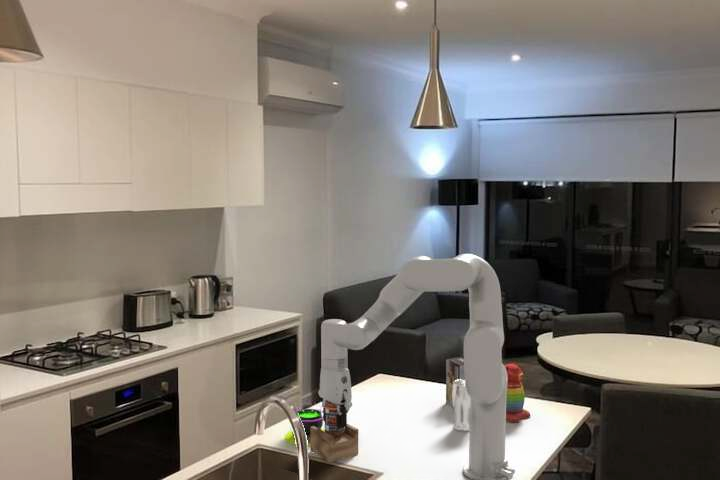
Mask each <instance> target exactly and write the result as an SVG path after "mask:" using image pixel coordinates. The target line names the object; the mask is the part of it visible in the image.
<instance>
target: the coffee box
mask: <svg viewBox="0 0 720 480" xmlns="http://www.w3.org/2000/svg"><path fill="white" fill-rule="evenodd" d="M445 372H446V373H445V378H446V379H445V391H446V392H445V404H448V405H449V406H451V407H453V399H452V392H453V382H454V381H455V380H465V371H464V357H461V356H460V357H452V358H446V362H445Z"/></svg>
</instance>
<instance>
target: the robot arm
mask: <svg viewBox="0 0 720 480" xmlns="http://www.w3.org/2000/svg"><path fill="white" fill-rule="evenodd" d="M465 290H468V295H469V297H468V300H469V301H468V308H469V328H468V330H467V332H466V333H465V336H464V340H463V359H464V371H465V386H466V390H467V393H468V395H469V396H470V429H469V431H468V434H469V436H468V438H469V439H468V440H469V441H468V443H469V445H468V461H467V462H466V463H464V464H463V466H462V472H463V474H464V476H466V477H467V478H468V479H470V480H512V479H513V477H514V474H515V472H516V470H515V469H514V468H512V467H509V460H508V459H506V456H505V455H506V427H507V426H506V425H507V424H506V423H507V421H506V398H507V382H508V377H507V371H506V368H505V364H504V363H503V357H502V356H503V354H502V353H503V352H502V350H503V346H504V342H505V333H504V322H503V307H502V306H503V305H502V294H501V285H500V281H499V277H498V275H497V273H496V271H495V270H494V268H493V266H491V265H490V263H488V262H487V261H486V260H485V259H483V258H482V257H479V256H477V255H475V254H472V253H461V254H458V255H456V256H455V257H453V258H437V259H436V258H434V259H433V258H431V257H428V256H425V255H418V256H415V257H412V258H411V259H409V260H407V261H406V262H404V264H403V265H402V267H401V269H400V271H399V272H398V273H397V274H396V275H395V276H394V277H393V278H392V279H391V280H390V281H389V282H388V283H387V284H386V285H385V286H384V287H383V288H382V290H381V291H380V292H379V296H378V298H377V300H376V301H375V302H374V303H373V304H372V306H370V307H369V308H368V310H367V311H365V312H364V314H363V315H362V316H361V317H359V318H358V319H356V320H354V321H353V322H350V323H347V321H345V320H343V319H338V318H331V319H325V320H324V321H322V323H321V326H320V333H321V334H320V338H321V339H320V340H321V341H320V343H321V344H320V346H321V347H320V348H321V351H320V352H321V368H320V376H319V389H318V392H317V393H318V396H319V397H320V401H321V407H322V411H323V413H322V414H323V415H322V417H323V423H325V402H326V401H330V402H332V403H334V404H336V407H337V411H338V414H337V416H336V417H337V428H342V427H346V426H347V424H348V423H347V422H348V421H347V420H348V419H347V418H348V417H347V415H348V414H349V413H348V412H349V411H350V409H351V408H352V407H353V403H352V380H351V374H350V370H349V368H348V350H353V351H359V350H363V349H365V348H366V347H367V346H368V345H369V344H371V343H373V342H374V341H375V340H376V339H377V338H378V337H379V336H380V335H381V334H382V333H383V332H384V331H385V330H386V329H387V328H388V327H389V326H390V325H391V324H392V323H393V322H394V321H395V319H397V318H398V317H399V316H401V315H402V314H403V313H404V312H405V311H406V310H407V309H408V308H409V307H410V306H411V305H413V303H414V302H415V301H416V300H417V299H418V298H419V297H420V296H421V295H422V294H423V293H424V292H425V293H427V292H429V293H430V292H431V293H433V292H435V293H436V292H437V293H438V292H461V291H465ZM341 401H342V402H343V403H341ZM340 405H343V408H342V409H341V407H340Z"/></svg>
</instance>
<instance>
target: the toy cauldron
mask: <svg viewBox="0 0 720 480" xmlns="http://www.w3.org/2000/svg"><path fill="white" fill-rule="evenodd" d="M302 405H304V401H302V403H301V404H299V405H298V406H297V407H295V409H296V411H297V412H298V413H299V416H300V418H301V421H302V423H303V425H304V428H305V432H306V435H307V440H308V446H307V447H310V427H311V426H315V427H317V428H319V429H321V430H323V431H325V428H322V427H323V424H324V421H323V415H322V414H323V407H322V406H320V409H317V408H305V407H304V406H303V407H302V408H303V409H298V407H299V406H302ZM307 405H311V403H307ZM315 405H318V404H317V403H315ZM321 409H322V410H321ZM284 440H285V441H286V442H287V443H288V444H291V445H293V446H297V445H296V444H295V438H294V434H293V431H292V430H290V431H288V432H286V434H285V435H284Z"/></svg>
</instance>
